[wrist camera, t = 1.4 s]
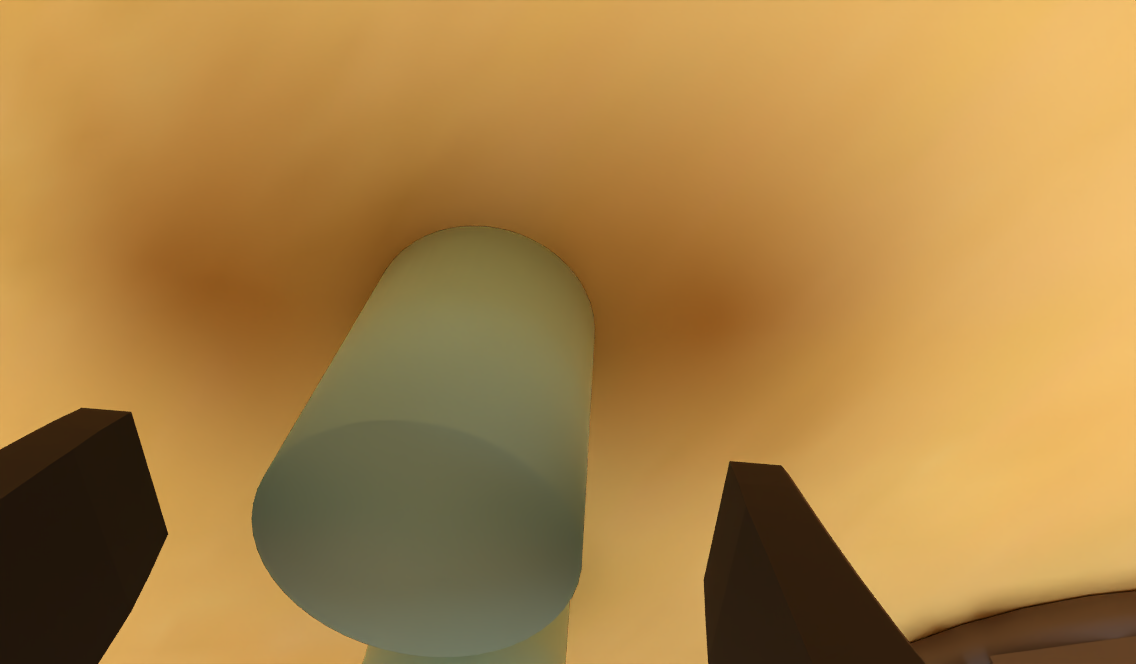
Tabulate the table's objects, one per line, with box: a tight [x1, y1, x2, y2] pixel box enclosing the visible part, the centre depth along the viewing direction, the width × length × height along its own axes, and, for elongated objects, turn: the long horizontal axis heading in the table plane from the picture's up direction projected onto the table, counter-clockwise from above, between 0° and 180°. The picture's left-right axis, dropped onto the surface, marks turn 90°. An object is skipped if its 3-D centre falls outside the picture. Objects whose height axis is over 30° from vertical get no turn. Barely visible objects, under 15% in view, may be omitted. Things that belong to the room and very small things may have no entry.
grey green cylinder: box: [252, 226, 595, 657], centre depth 11 cm, size 4×4×5 cm
